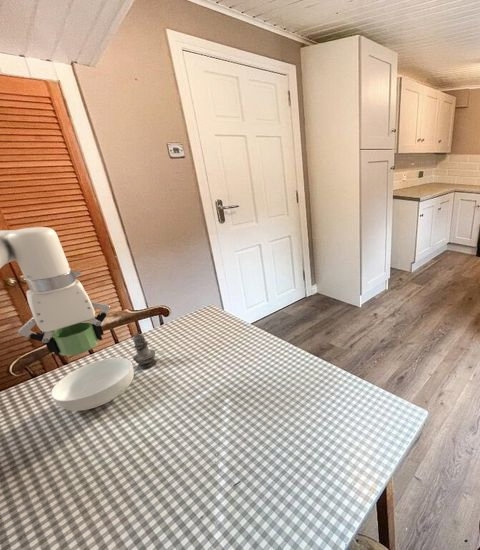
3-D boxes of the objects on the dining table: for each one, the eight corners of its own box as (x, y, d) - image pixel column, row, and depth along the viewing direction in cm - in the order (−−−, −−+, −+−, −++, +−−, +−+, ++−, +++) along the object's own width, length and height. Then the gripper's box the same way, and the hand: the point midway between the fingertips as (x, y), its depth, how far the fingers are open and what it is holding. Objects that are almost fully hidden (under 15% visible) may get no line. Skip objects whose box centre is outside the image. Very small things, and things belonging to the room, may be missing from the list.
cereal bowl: (119, 369, 95) (112, 351, 92) (151, 386, 88) (144, 366, 86) (48, 407, 81) (37, 386, 78) (80, 430, 74) (69, 409, 72)
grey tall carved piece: (141, 372, 94) (130, 339, 89) (132, 366, 97) (121, 334, 92) (161, 362, 99) (151, 330, 94) (152, 356, 101) (142, 325, 97)
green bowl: (53, 360, 72) (44, 340, 70) (69, 343, 79) (61, 324, 77) (91, 353, 75) (83, 334, 73) (103, 337, 81) (97, 319, 79)
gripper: (96, 267, 78) (117, 326, 85) (-6, 289, 66) (28, 355, 73) (103, 274, 74) (124, 335, 80) (-5, 299, 61) (31, 369, 68)
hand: (78, 344), depth 76 cm, fingers closed on green bowl, 7 cm apart
